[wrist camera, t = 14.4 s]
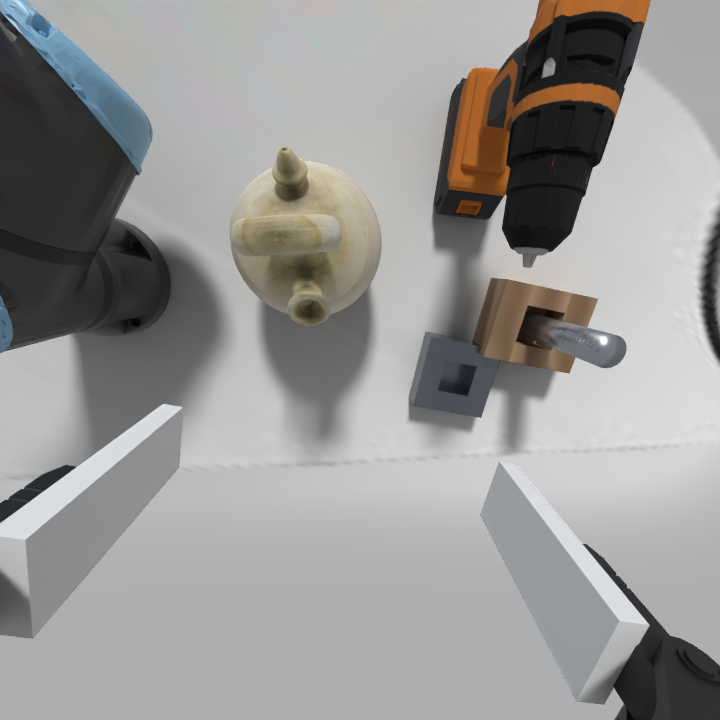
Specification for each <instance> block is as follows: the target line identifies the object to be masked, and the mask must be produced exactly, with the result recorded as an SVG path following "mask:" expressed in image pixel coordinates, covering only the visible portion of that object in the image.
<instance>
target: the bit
mask: <svg viewBox="0 0 720 720" xmlns="http://www.w3.org/2000/svg"><path fill="white" fill-rule="evenodd" d="M518 334H520V335H523V336H525V337H528V338H530V339H533V340H535V341H537V342H540V343H542V344H545V345H547V346H550V347H552V348H555V349H557V350H560V351H562V352H564V353H567V354H569V355H572V356H574V357H577V358H579V359H582V360H584V361H587V362H589V363H591V364H594V365H596V366H599V367H601V368H610V367H613V366H615V365H617V364H618V363H620V362H621V360H622V359H623V358H624V356H625V353H626V343H625V341H624V340H623V339H622V338H621V337H620V336H617V335H613V334H609V333H605V332H602V331H598V330H594V329H590V328H586V327H583V326H579V325H575V324H571V323H568V322H564V321H560V320H556V319H552V318H549V317H545V316H541V315H537V314H533V313H530V312H525V315H524V318H523V321H522V324H521V327H520V330H519V333H518Z"/></svg>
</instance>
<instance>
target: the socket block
mask: <svg viewBox="0 0 720 720" xmlns="http://www.w3.org/2000/svg"><path fill="white" fill-rule="evenodd" d="M480 350H481V346H480V345H478V344H477V343H475V342H473V341H470V340H465V339H460V338H455V337H450V336H445V335H440V334H435V333H430V332H425V336H424V340H423V344H422V348H421V352H420V356H419V360H418V363H417V367H416V371H415V375H414V379H413V383H412V387H411V390H410V394H409V397H410V399H411V402H412V404H413V405H414V406H419V407H425V408H430V409H436V410H441V411H447V412H453V413H458V414H464V415H469V416H475V417H480V418H481V416H482V413H483V410H484V407H485V404H486V401H487V398H488V395H489V392H490V389H491V386H492V383H493V379H494V376H495V373H496V370H497V367H498V364H499V361H500V360H498V359H493V358H488V357H483V356H482V355H481V354H480Z"/></svg>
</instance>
